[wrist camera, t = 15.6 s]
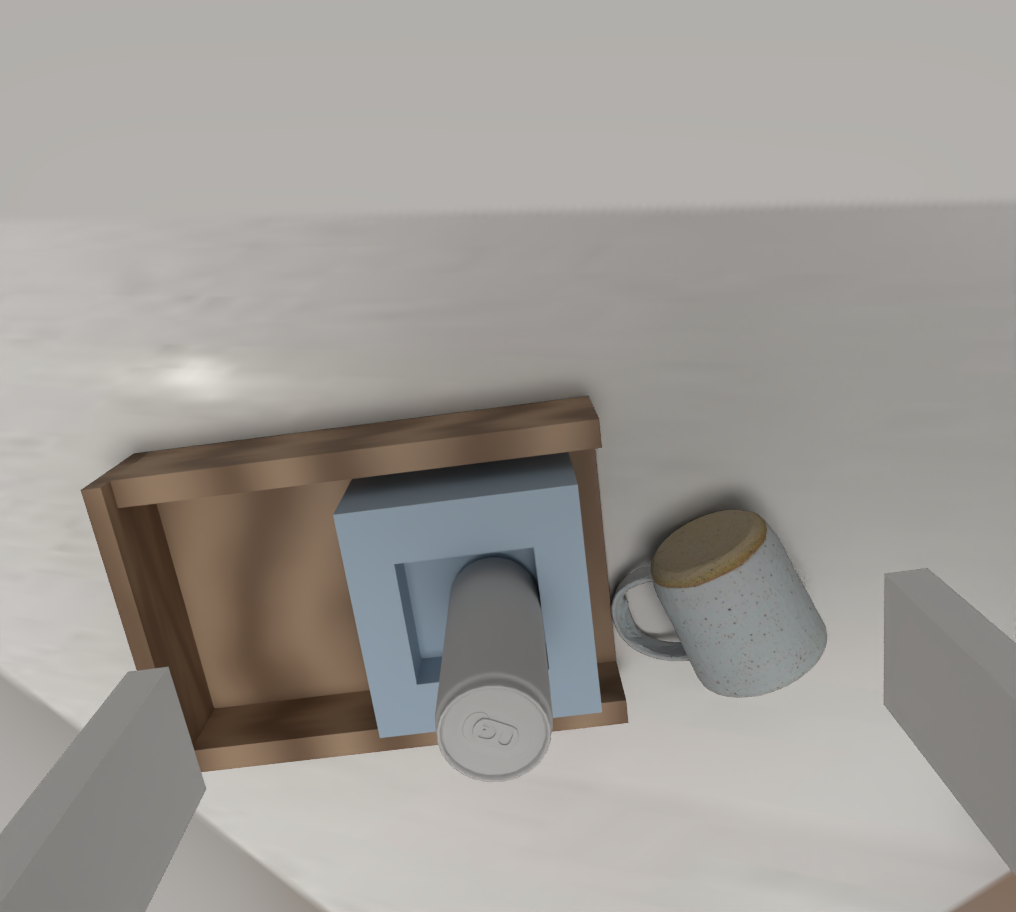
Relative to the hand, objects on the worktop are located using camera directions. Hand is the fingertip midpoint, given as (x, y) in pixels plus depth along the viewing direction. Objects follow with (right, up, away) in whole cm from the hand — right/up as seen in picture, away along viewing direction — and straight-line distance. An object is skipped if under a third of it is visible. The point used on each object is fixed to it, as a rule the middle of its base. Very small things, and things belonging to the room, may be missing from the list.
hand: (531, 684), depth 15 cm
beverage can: (-1, -3, +28) cm, 29 cm away
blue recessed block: (-2, -2, +32) cm, 32 cm away
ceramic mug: (+11, -3, +34) cm, 36 cm away
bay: (-8, -3, +33) cm, 34 cm away
